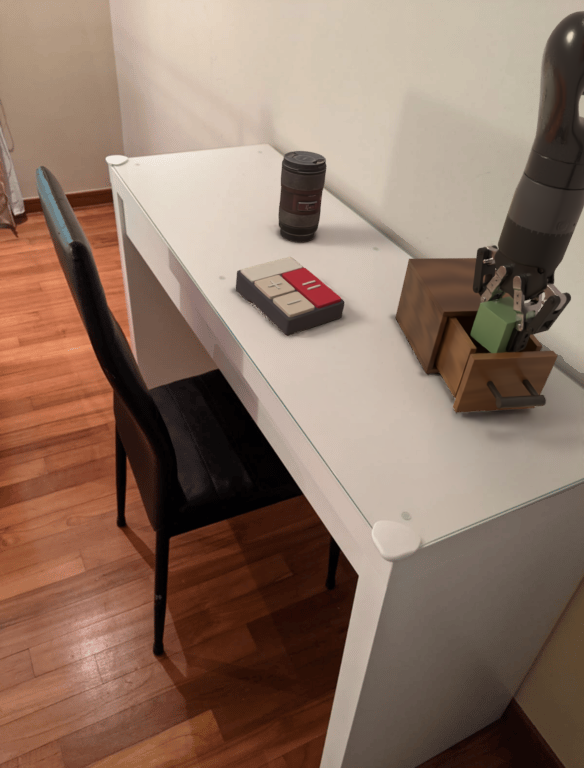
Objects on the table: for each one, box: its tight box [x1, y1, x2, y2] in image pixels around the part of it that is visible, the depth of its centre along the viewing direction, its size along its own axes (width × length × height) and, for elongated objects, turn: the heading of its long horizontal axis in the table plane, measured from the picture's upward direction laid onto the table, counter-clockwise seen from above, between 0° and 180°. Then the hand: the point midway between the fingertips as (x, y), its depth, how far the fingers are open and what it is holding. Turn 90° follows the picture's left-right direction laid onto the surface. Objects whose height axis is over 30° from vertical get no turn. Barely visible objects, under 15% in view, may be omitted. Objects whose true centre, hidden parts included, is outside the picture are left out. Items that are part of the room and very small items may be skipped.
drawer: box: [434, 316, 559, 414], centre depth 82 cm, size 18×11×9 cm, turn 10°
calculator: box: [235, 256, 346, 336], centre depth 98 cm, size 11×4×15 cm
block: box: [470, 296, 528, 353], centre depth 79 cm, size 5×5×5 cm
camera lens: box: [277, 150, 327, 243], centre depth 114 cm, size 8×8×15 cm
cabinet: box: [395, 257, 512, 375], centre depth 91 cm, size 15×13×11 cm
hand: (497, 338), depth 80 cm, fingers closed on block, 5 cm apart
